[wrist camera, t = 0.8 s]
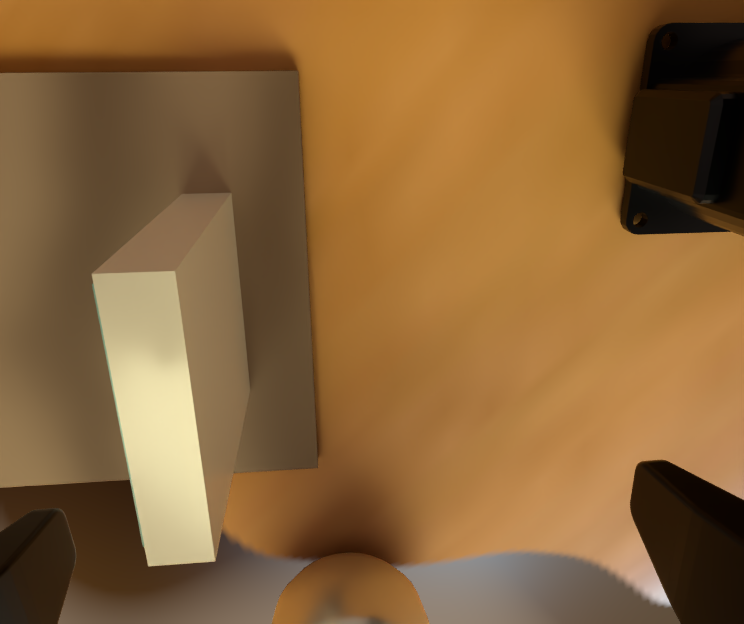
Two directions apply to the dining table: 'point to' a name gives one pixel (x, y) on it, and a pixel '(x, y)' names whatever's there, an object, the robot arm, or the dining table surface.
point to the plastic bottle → (350, 594)
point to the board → (119, 225)
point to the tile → (178, 371)
